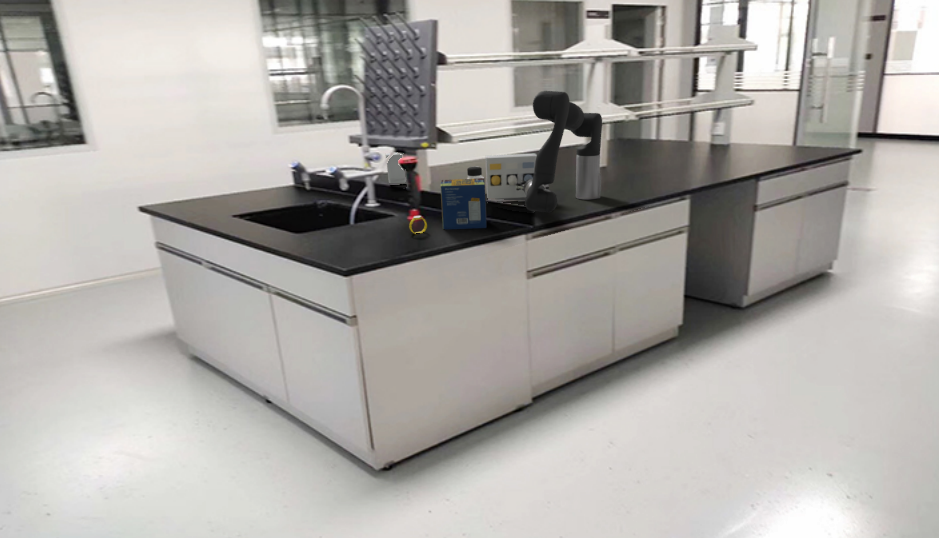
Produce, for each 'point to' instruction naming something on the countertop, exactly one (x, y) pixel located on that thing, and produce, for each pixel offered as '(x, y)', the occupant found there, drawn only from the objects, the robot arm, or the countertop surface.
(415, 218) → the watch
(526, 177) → the blue button
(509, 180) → the white button
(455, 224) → the protein box
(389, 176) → the grey shouldered block
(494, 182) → the amber button
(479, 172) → the medicine bottle
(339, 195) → the countertop surface
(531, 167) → the panel
